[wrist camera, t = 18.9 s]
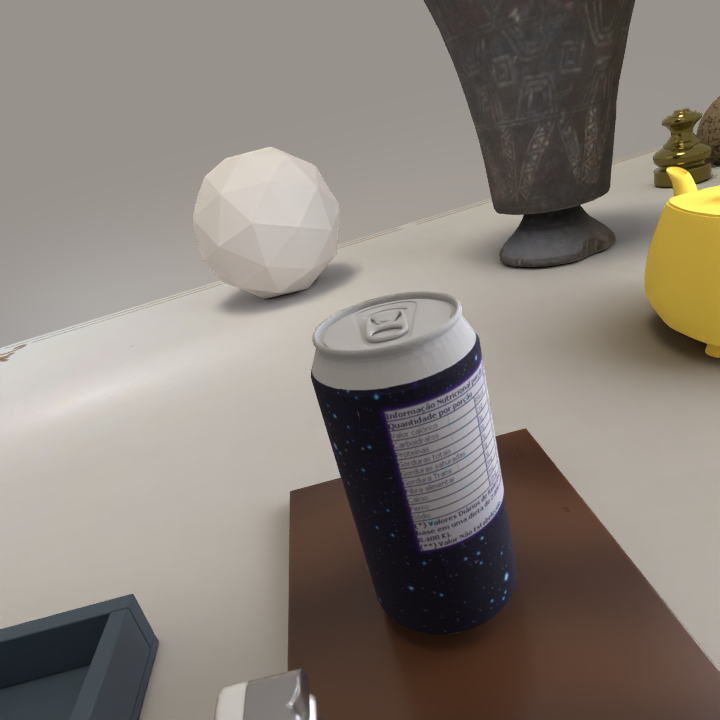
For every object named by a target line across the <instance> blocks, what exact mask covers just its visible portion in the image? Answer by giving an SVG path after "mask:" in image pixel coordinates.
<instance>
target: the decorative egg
mask: <svg viewBox="0 0 720 720" xmlns="http://www.w3.org/2000/svg"><path fill="white" fill-rule="evenodd" d="M696 136H697V137H699V138H701V141H702V142H706V143H708V144H710V145H711V146H712V153H711V155H710V156H709V157H708V158H707V159H705V160H709V161H711V162H712V163H714V164H720V97H718V98H717V99H716V100H715V101H714V102H713V103H712V104H711V106H710V107H709V108H708V109H707V111H706V112H705V114H704V116H703V117H702V119H701V121H700V124H699V127H698V130H697V135H696Z"/></svg>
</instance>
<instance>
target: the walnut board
mask: <svg viewBox="0 0 720 720" xmlns="http://www.w3.org/2000/svg"><path fill="white" fill-rule="evenodd" d="M495 438H496V444H497V451H498V457H499V463H500V469H501V475H502V481H503V487H504V493H505V499H506V506H507V512H508V518H509V524H510V530H511V536H512V542H513V548H514V554H515V560H516V567H517V582H516V586H515V589H514V592H513V594H512V596H511V598H510V600H509V601H508V603H507V604H506V605H505V606H504V608H503V609H502V610H501V611H500V612H499V613H498V614H496V615H495V616H494V617H493V618H491V619H490V620H488V621H487V622H485V623H483V624H481V625H479V626H477V627H475V628H472V629H469V630H467V631H463V632H460V633H454V634H428V633H422V632H418V631H415V630H411V629H409V628H406V627H404V626H402V625H401V624H399V623H397V622H396V621H395V620H393V619H392V618H391V617H390V616H389V615H388V614H387V613H386V612H385V611H384V609H383V608H382V606H381V605H380V603H379V601H378V598H377V595H376V592H375V588H374V585H373V582H372V579H371V575H370V572H369V569H368V565H367V562H366V559H365V555H364V552H363V549H362V545H361V542H360V539H359V535H358V532H357V529H356V525H355V522H354V519H353V515H352V512H351V509H350V505H349V502H348V499H347V495H346V492H345V489H344V485H343V482H342V479H341V478H338V479H334V480H331V481H327V482H323V483H319V484H316V485H312V486H308V487H304V488H301V489H297V490H293V491H290V529H289V609H288V671H293V670H297V669H301V668H304V670H305V673H306V675H307V677H308V679H309V694H311V695H313V696H315V697H316V699H317V702H318V704H319V707H320V711H321V715H322V719H323V720H720V670H719V669H718V668H717V667H716V665H715V664H714V663H713V662H712V660H711V659H710V658H709V657H708V655H707V654H706V653H705V652H704V650H703V649H702V648H701V647H700V645H699V644H698V643H697V642H696V640H695V639H694V638H693V637H692V635H691V634H690V633H689V632H688V630H687V629H686V628H685V627H684V625H683V624H682V623H681V622H680V620H679V619H678V618H677V617H676V615H675V614H674V613H673V612H672V610H671V609H670V608H669V607H668V605H667V604H666V603H665V602H664V600H663V599H662V598H661V597H660V595H659V594H658V593H657V592H656V590H655V589H654V588H653V587H652V585H651V584H650V583H649V582H648V580H647V579H646V578H645V577H644V575H643V574H642V573H641V572H640V570H639V569H638V568H637V567H636V565H635V564H634V563H633V562H632V560H631V559H630V558H629V557H628V555H627V554H626V553H625V552H624V550H623V549H622V548H621V547H620V545H619V544H618V543H617V542H616V540H615V539H614V538H613V537H612V535H611V534H610V533H609V532H608V530H607V529H606V528H605V527H604V525H603V524H602V523H601V522H600V520H599V519H598V518H597V517H596V515H595V514H594V513H593V512H592V510H591V509H590V508H589V507H588V505H587V504H586V503H585V502H584V500H583V499H582V498H581V497H580V495H579V494H578V493H577V492H576V490H575V489H574V488H573V487H572V485H571V484H570V483H569V482H568V480H567V479H566V478H565V477H564V475H563V474H562V473H561V472H560V470H559V469H558V468H557V467H556V465H555V464H554V463H553V462H552V460H551V459H550V458H549V457H548V455H547V454H546V453H545V452H544V450H543V449H542V448H541V447H540V445H539V444H538V443H537V442H536V440H535V439H534V438H533V437H532V435H531V434H530V433H529V432H528V430H527V429H521V430H518V431H514V432H510V433H506V434H503V435H499V436H495Z"/></svg>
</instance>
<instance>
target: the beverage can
mask: <svg viewBox="0 0 720 720" xmlns="http://www.w3.org/2000/svg"><path fill="white" fill-rule="evenodd" d="M461 311H462V308H461V304H460V303H459V301H458V300H457V299H456V298H454V297H453V296H450V295H448V294H444V293H439V292H407V293H399V294H393V295H388V296H383V297H379V298H375V299H371V300H368V301H364V302H361V303H358V304H356V305H353V306H351V307H348V308H346V309H343V310H341V311H339V312H337V313H336V314H334V315H332V316H330V317H329V318H327V319H326V320H324V321H323V322H322V323H321V324H320V325H319V326H318V327H317V328H316V329H315V331H314V333H313V344H314V346H315V347H316V351H315V356H314V361H313V365H312V371H311V379H312V383H313V386H314V389H315V392H316V396H317V399H318V402H319V406H320V409H321V412H322V416H323V419H324V422H325V426H326V429H327V432H328V436H329V439H330V442H331V446H332V449H333V452H334V456H335V459H336V462H337V466H338V469H339V472H340V476H341V479H342V482H343V485H344V489H345V492H346V495H347V499H348V502H349V505H350V509H351V512H352V515H353V519H354V522H355V525H356V529H357V532H358V535H359V539H360V542H361V545H362V549H363V552H364V555H365V559H366V562H367V565H368V569H369V572H370V575H371V579H372V582H373V585H374V588H375V592H376V595H377V598H378V601H379V603H380V605H381V606H382V608H383V609H384V611H385V612H386V613H387V614H388V615H389V616H390V617H391V618H392V619H393V620H395V621H396V622H397V623H399V624H401V625H402V626H404V627H406V628H409V629H411V630H415V631H418V632H422V633H428V634H454V633H460V632H463V631H467V630H469V629H472V628H475V627H477V626H479V625H481V624H483V623H485V622H487V621H488V620H490V619H491V618H493V617H494V616H495V615H496V614H498V613H499V612H500V611H501V610H502V609H503V608H504V606H505V605H506V604H507V603H508V601H509V600H510V598H511V596H512V594H513V592H514V589H515V586H516V582H517V567H516V560H515V554H514V548H513V542H512V536H511V530H510V524H509V518H508V512H507V506H506V499H505V493H504V487H503V481H502V475H501V469H500V463H499V457H498V451H497V444H496V438H495V432H494V426H493V420H492V414H491V408H490V402H489V396H488V390H487V383H486V377H485V371H484V365H483V359H482V353H481V347H480V341H479V337H478V335H477V334H476V332H475V331H474V330H473V328H472V327H471V326H470V325H469V324H468V322H467V321H466V320H465V319H464V317H463V316H462V314H461Z"/></svg>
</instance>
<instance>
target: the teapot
mask: <svg viewBox="0 0 720 720" xmlns="http://www.w3.org/2000/svg"><path fill="white" fill-rule="evenodd" d="M666 171H667V174H668V175H669V177H670V179H671V181H672V184H673V189H674V197H672V198H671V199H670V200H669V201H667V203H666V205H665V207H664V209H663V212H662V214H661V217H660V219H659V222H658V225H657V227H656V230H655V233H654V236H653V239H652V242H651V245H650V248H649V252H648V256H647V262H646V269H645V292H646V295H647V298H648V300H649V302H650V303H651V305H652V306H653V308H654V309H655V311H656V312H657V313H658V315H659V316H660V317H661V318H662V320H663V321H664V322H665V323H666V324H667V325H668V326H669V327H670V328H673V329H674V330H676V331H678V332H680V333H682V334H684V335H686V336H689V337H691V338H693V339H696V340H698V341H701V342H704V343H707V346H706V349H705V352H706V354H708V355H709V356H712V357H717V358H720V186H715V187H711V188H707V189H702V190H697V187H696V185H695V183H694V180H693V178H692V176H691V175H690V173H689V172H688V171H686V170H685V169H683V168H679V167H669V168H667V170H666Z"/></svg>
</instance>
